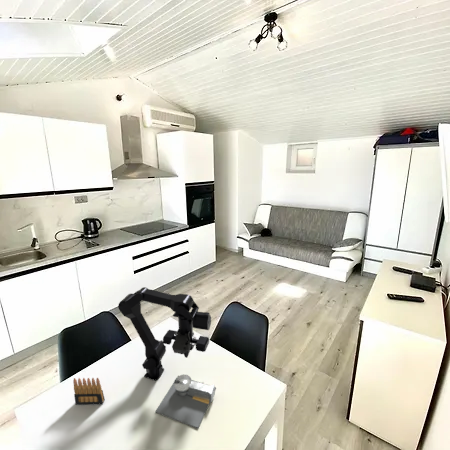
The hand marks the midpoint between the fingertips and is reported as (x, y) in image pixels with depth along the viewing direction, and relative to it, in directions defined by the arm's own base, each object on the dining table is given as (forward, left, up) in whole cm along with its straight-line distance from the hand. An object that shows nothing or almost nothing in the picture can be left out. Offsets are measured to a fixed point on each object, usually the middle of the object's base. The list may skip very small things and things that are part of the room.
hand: (186, 356), depth 104 cm
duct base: (+4, -9, -12) cm, 15 cm away
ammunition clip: (-32, -22, -12) cm, 41 cm away
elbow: (+6, -6, -10) cm, 14 cm away
